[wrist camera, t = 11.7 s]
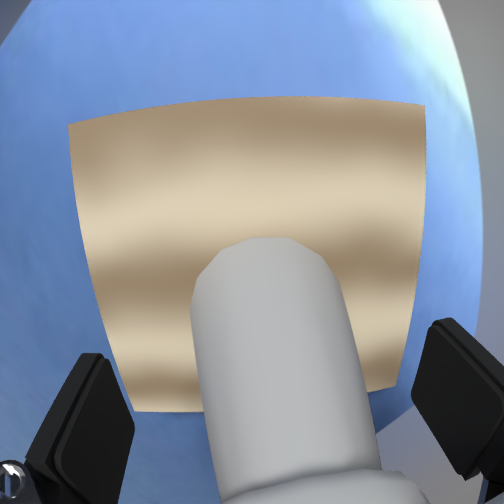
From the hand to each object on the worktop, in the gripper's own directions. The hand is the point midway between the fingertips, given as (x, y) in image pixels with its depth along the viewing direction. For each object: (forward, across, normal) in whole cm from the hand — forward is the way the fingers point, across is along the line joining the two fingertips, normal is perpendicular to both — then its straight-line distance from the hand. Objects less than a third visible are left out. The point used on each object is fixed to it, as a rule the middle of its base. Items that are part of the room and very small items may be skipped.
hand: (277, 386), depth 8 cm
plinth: (+10, 0, 0) cm, 10 cm away
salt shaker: (+7, 0, 0) cm, 7 cm away
